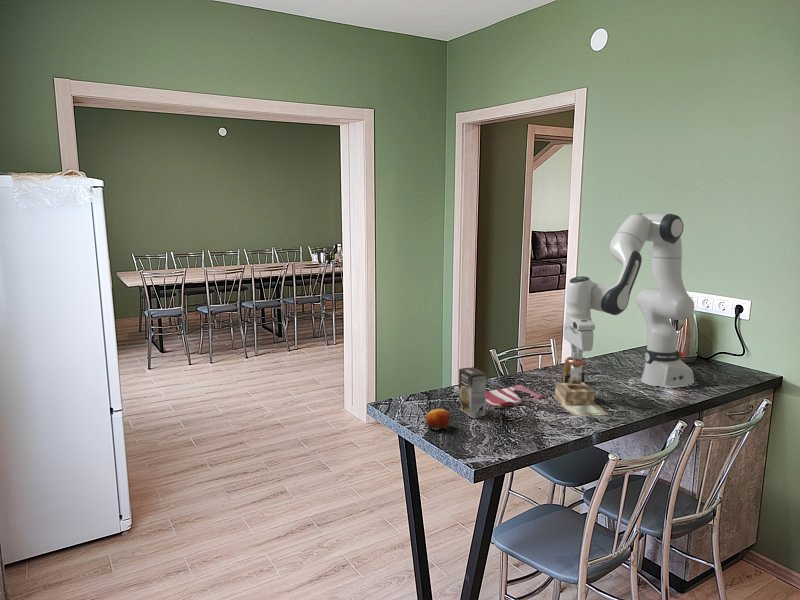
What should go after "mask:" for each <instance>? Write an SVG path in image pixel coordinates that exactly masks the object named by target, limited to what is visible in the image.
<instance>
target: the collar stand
mask: <svg viewBox="0 0 800 600" xmlns="http://www.w3.org/2000/svg"><path fill="white" fill-rule="evenodd" d="M595 395H596V392H595V390H594V389H592V388H591V387H590V386H589V385H588V384H586V382H585V381H584V382H581V384H572V383H562V382H556V383H555V391H554V394H552V397H554V399H555V400H556V401H557V402H558V403H559V404H561V406H562V407H563V408H564V409H565V410H566V411H567V412H568V413H569V414H570V415H572V416H573V417H576V416H577V417H579V416H602V415H603V416H604V415H605V416H608V415H609V413H607V412H606V411H605V410H604V409H603V408H602V407H601V406H600V405H599V404H597V403H596V402H595Z"/></svg>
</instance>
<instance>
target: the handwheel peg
mask: <svg viewBox="0 0 800 600" xmlns="http://www.w3.org/2000/svg"><path fill="white" fill-rule="evenodd" d="M570 353H571V354H570V355H571V356H568V357H567V358H566V360H567V364H568V363H569V364H571V373H570V383H572V384H581V375H582V365H585V364H587V358H585V357H582V358H581V359H577V358H576V353H577V350H571V352H570Z"/></svg>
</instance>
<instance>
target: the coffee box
mask: <svg viewBox="0 0 800 600" xmlns="http://www.w3.org/2000/svg"><path fill="white" fill-rule="evenodd" d="M486 391H487V373H486V372H484V371H482V370H481V369H477V368H476V367H463V368H458V410H459V409H460V410H461V411H462V412H464V413H465V414H467V415H468V416H470V417H476V416H483V415H485V416H486Z"/></svg>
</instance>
